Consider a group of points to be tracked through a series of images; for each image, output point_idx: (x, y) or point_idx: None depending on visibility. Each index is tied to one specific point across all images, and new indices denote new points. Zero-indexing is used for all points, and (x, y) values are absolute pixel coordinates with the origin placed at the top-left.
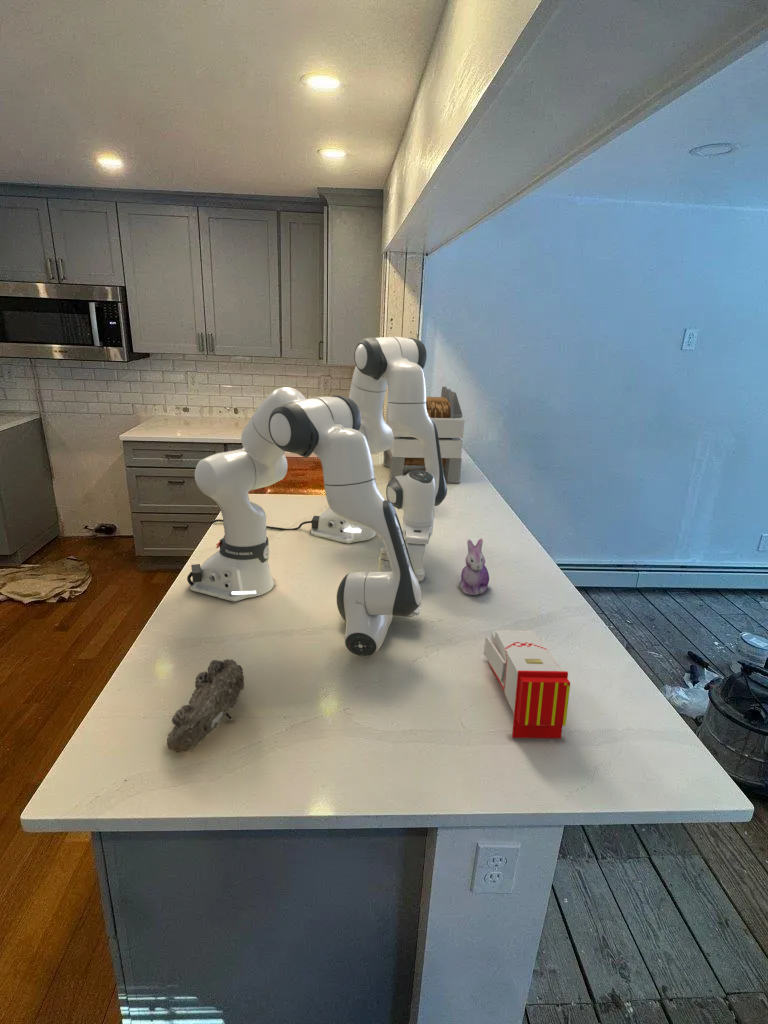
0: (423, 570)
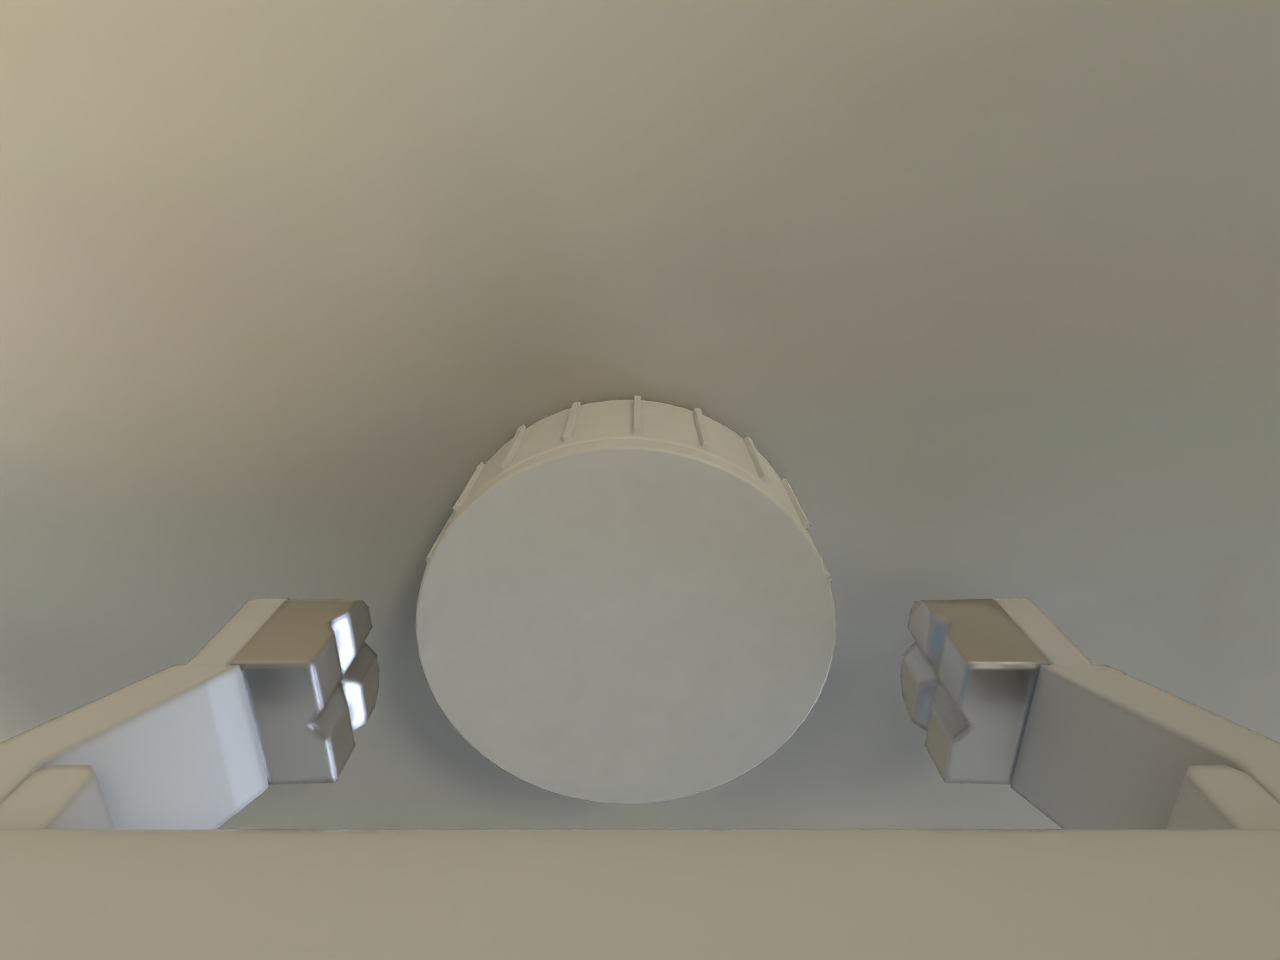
0: (660, 792)
